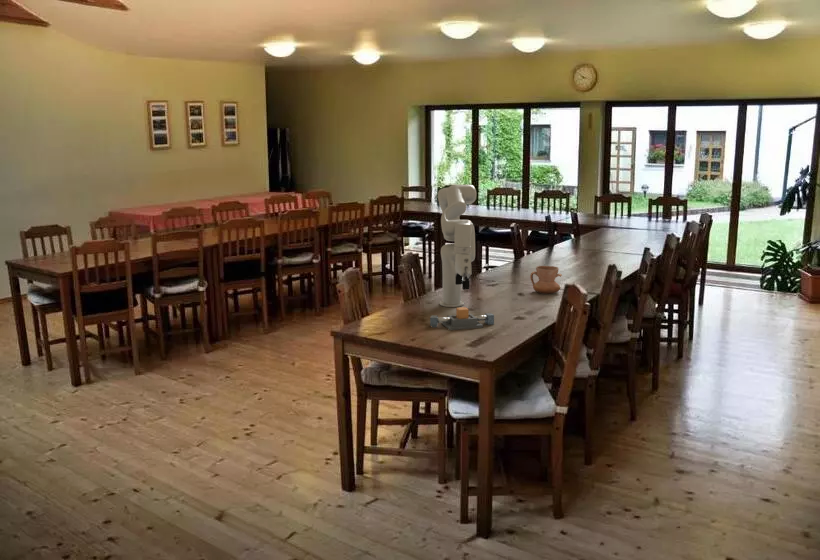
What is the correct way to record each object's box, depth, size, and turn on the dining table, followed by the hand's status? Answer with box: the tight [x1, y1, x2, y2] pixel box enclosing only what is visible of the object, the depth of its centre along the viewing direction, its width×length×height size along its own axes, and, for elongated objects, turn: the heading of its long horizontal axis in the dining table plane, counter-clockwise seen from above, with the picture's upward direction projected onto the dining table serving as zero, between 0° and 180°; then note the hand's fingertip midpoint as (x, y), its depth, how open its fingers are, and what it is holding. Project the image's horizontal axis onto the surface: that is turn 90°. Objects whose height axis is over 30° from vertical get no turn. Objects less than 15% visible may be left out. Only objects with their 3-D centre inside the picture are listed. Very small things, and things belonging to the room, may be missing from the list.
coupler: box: [454, 306, 471, 319], centre depth 327 cm, size 4×8×7 cm, turn 105°
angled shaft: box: [429, 315, 450, 328], centre depth 327 cm, size 9×4×4 cm, turn 80°
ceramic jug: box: [529, 265, 563, 295], centre depth 391 cm, size 18×14×14 cm
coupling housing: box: [441, 313, 484, 331], centre depth 327 cm, size 11×16×4 cm
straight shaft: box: [474, 312, 495, 326], centre depth 330 cm, size 9×4×4 cm, turn 105°
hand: (462, 286), depth 325 cm, fingers open, 9 cm apart
